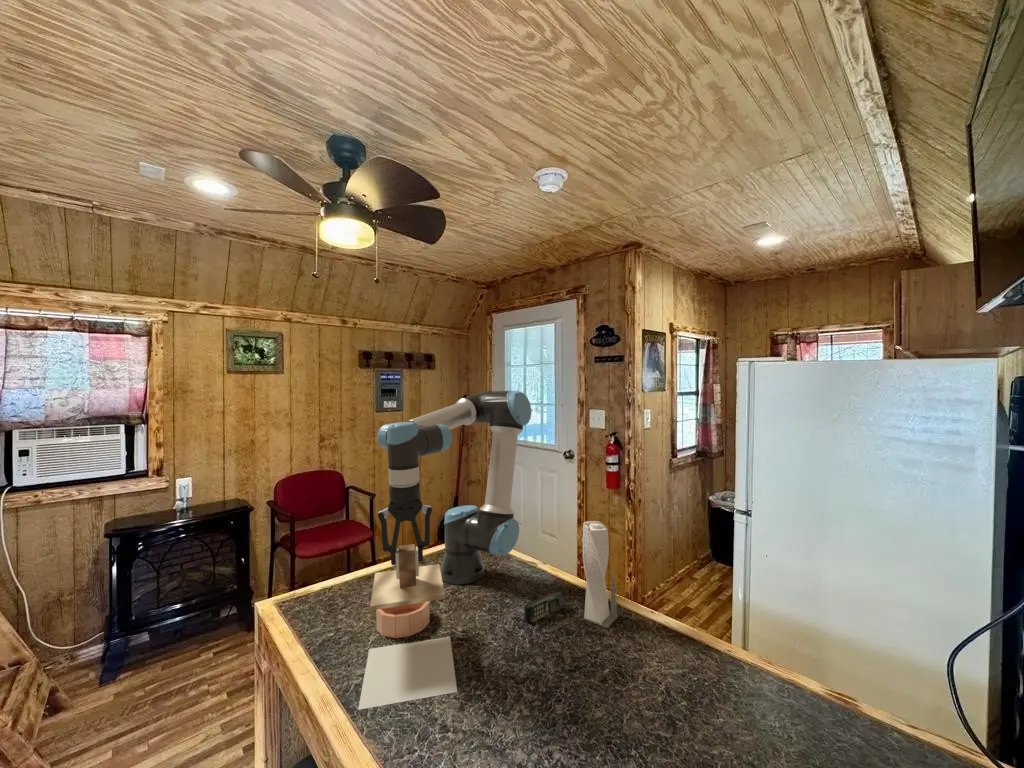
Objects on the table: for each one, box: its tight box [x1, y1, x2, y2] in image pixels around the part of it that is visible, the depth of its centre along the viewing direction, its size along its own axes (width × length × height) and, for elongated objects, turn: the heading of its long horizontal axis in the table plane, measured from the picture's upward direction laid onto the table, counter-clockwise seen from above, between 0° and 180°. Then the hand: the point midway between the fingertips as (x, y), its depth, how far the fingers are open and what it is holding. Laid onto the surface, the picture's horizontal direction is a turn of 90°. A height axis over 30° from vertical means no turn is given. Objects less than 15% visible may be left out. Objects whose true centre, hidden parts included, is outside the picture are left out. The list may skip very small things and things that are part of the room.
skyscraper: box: [582, 520, 619, 629], centre depth 116 cm, size 8×8×28 cm
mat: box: [358, 636, 458, 711], centre depth 96 cm, size 20×20×1 cm
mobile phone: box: [523, 591, 566, 625], centre depth 119 cm, size 5×3×15 cm
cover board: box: [369, 543, 446, 611], centre depth 106 cm, size 17×17×10 cm
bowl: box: [375, 601, 431, 639], centre depth 115 cm, size 14×14×6 cm
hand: (407, 575), depth 106 cm, fingers closed on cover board, 4 cm apart
